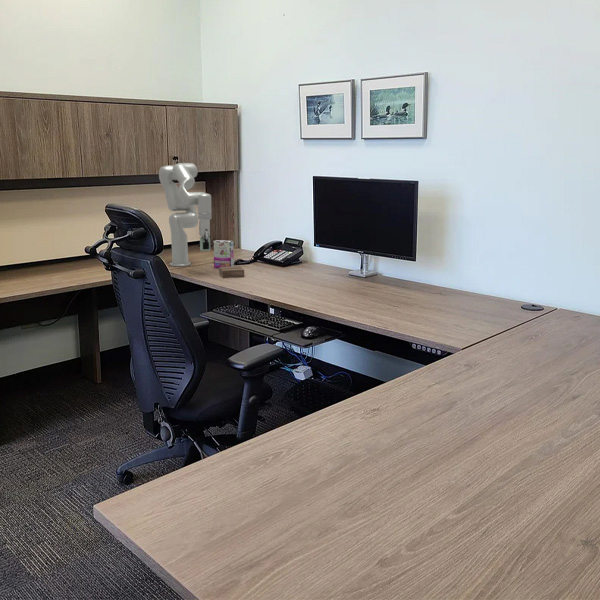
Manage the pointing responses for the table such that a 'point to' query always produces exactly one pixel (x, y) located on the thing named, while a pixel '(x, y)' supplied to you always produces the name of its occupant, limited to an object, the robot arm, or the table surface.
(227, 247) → the candy bar box
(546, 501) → the table surface
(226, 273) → the walnut block
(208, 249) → the sage block
